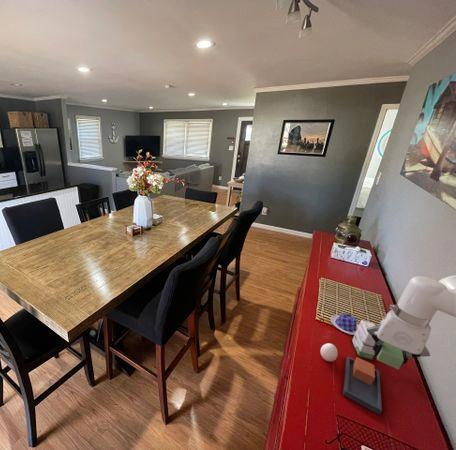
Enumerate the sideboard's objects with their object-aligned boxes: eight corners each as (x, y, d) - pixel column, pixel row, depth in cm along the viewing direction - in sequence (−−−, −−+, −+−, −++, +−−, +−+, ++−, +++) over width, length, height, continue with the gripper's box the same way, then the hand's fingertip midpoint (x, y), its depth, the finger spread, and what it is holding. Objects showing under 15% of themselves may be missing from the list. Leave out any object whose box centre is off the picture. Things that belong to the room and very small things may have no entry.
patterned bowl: (341, 314, 119) (344, 305, 117) (367, 332, 109) (372, 323, 107) (324, 319, 115) (327, 311, 113) (350, 339, 105) (354, 330, 103)
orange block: (370, 372, 90) (374, 365, 88) (370, 385, 85) (374, 377, 84) (353, 364, 93) (356, 356, 91) (352, 376, 88) (356, 368, 87)
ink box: (372, 360, 95) (384, 338, 91) (357, 355, 97) (368, 334, 92) (365, 344, 103) (375, 323, 98) (351, 340, 104) (360, 319, 100)
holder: (377, 374, 90) (379, 371, 89) (379, 414, 77) (382, 410, 76) (345, 359, 95) (347, 356, 94) (343, 394, 82) (345, 390, 82)
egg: (317, 351, 99) (322, 337, 96) (332, 356, 97) (338, 342, 94) (319, 362, 94) (325, 348, 91) (335, 367, 92) (342, 353, 89)
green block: (396, 356, 80) (401, 347, 79) (398, 369, 76) (403, 360, 74) (376, 347, 83) (380, 338, 82) (377, 360, 79) (381, 351, 77)
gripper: (375, 308, 74) (354, 350, 81) (457, 338, 65) (425, 382, 72) (374, 296, 80) (355, 336, 87) (450, 322, 70) (421, 365, 77)
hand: (387, 357), depth 79 cm, fingers closed on green block, 5 cm apart
